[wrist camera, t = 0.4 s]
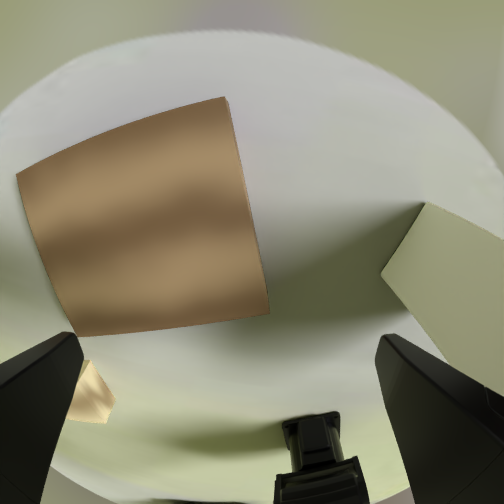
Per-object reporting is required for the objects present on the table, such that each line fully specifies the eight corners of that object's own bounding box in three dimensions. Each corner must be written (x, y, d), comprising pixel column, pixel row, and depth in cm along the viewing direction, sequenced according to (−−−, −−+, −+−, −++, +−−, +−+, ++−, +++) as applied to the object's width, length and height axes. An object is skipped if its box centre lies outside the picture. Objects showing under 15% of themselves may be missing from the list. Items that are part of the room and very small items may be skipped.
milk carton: (378, 274, 22) (517, 478, 5) (425, 200, 20) (631, 333, 2) (428, 305, 24) (544, 463, 6) (471, 242, 21) (621, 365, 4)
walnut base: (267, 291, 23) (269, 313, 20) (91, 318, 24) (77, 337, 21) (228, 102, 18) (224, 96, 15) (38, 168, 19) (15, 174, 16)
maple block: (116, 397, 28) (105, 423, 24) (78, 396, 29) (66, 419, 25) (91, 359, 26) (76, 384, 22) (53, 359, 26) (38, 382, 23)
